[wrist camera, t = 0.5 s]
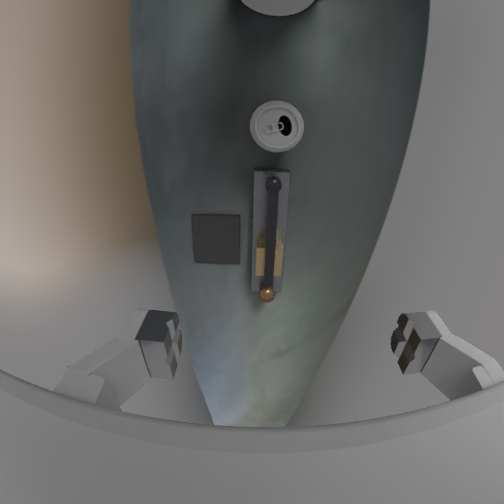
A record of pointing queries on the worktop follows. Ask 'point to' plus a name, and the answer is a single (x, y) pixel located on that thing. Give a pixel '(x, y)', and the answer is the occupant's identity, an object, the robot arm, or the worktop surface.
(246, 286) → the worktop surface
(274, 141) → the can
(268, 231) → the lever
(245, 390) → the worktop surface
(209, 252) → the mat
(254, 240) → the body
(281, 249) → the brown wooden block
